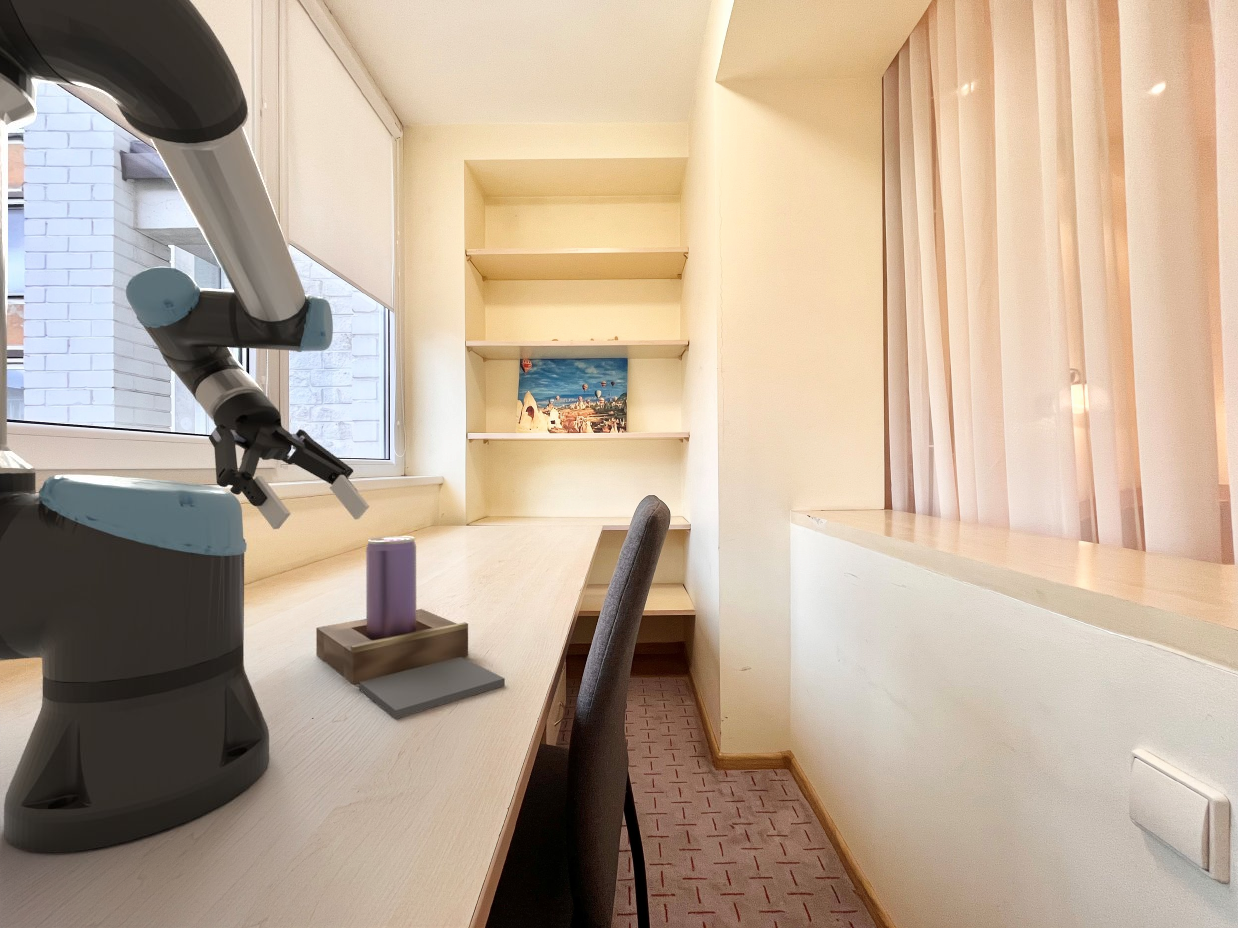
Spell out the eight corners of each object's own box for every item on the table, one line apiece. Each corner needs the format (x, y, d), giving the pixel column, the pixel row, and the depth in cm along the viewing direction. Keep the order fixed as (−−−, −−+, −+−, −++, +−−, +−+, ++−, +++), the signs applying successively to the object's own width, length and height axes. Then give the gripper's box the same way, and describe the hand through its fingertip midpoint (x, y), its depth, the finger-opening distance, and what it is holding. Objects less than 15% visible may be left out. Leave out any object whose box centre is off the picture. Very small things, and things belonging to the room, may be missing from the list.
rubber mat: (395, 718, 54) (395, 710, 54) (359, 689, 62) (359, 681, 62) (504, 685, 62) (504, 678, 63) (461, 663, 70) (461, 656, 70)
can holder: (353, 684, 63) (353, 647, 63) (316, 654, 73) (316, 622, 73) (468, 655, 73) (468, 623, 73) (421, 632, 83) (421, 604, 83)
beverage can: (405, 663, 70) (405, 541, 70) (357, 663, 70) (357, 541, 70) (423, 647, 76) (423, 535, 76) (379, 647, 76) (378, 535, 76)
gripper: (298, 433, 94) (374, 526, 89) (129, 421, 70) (221, 548, 65) (324, 399, 92) (403, 493, 88) (160, 376, 68) (257, 502, 64)
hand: (325, 517), depth 76 cm, fingers open, 13 cm apart
